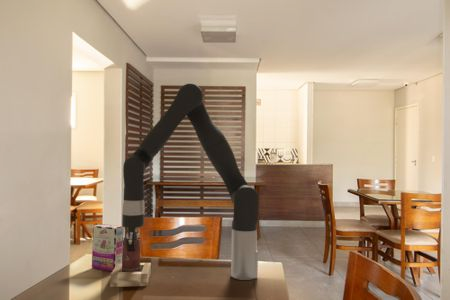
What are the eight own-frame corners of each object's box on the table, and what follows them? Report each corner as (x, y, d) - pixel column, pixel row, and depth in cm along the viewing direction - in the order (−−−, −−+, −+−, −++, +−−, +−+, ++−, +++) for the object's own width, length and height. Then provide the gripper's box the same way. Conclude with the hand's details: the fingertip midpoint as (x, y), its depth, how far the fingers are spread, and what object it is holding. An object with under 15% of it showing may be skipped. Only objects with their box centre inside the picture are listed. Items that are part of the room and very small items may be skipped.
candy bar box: (123, 268, 130) (124, 225, 130) (114, 272, 125) (115, 228, 125) (100, 264, 134) (101, 223, 134) (91, 268, 129) (92, 225, 130)
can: (135, 282, 114) (136, 240, 115) (118, 280, 116) (119, 239, 116) (143, 276, 120) (144, 236, 121) (126, 274, 122) (128, 235, 122)
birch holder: (150, 273, 125) (150, 262, 125) (147, 285, 113) (147, 273, 113) (117, 274, 123) (117, 263, 123) (110, 286, 111) (110, 274, 111)
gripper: (142, 215, 112) (140, 268, 112) (146, 209, 126) (145, 256, 125) (119, 215, 112) (117, 268, 111) (125, 209, 125) (124, 257, 124)
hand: (132, 262), depth 118 cm, fingers closed
